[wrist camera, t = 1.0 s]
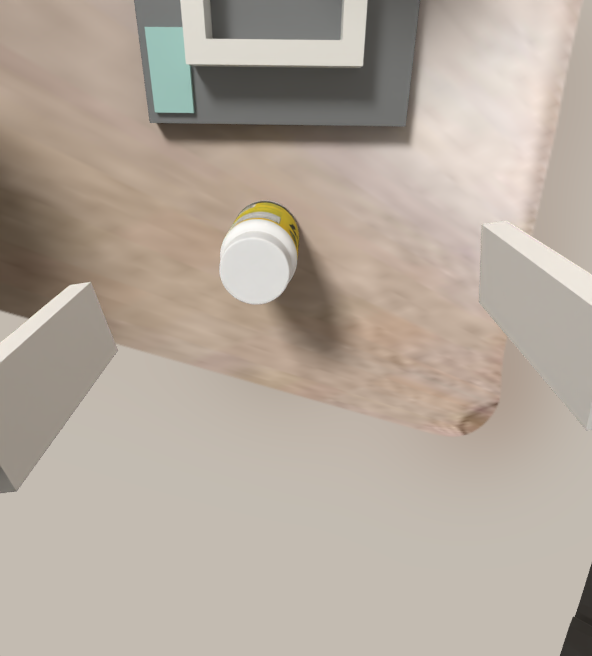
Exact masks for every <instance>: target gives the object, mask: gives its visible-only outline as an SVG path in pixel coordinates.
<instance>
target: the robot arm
mask: <svg viewBox="0 0 592 656" xmlns="http://www.w3.org/2000/svg"><path fill="white" fill-rule="evenodd" d="M479 303H480V304H481V305H482V307H483V308H484V309H485V310H486V311H487V313H488V314H489V315H490V316H491V317H492V319H493V320H494V321H495V322H496V323H497V325H498V326H499V327H500V328H501V329H502V330H503V332H504V333H505V334H506V335H507V336H508V338H509V339H510V340H511V341H512V342H513V344H514V345H515V346H516V347H517V348H518V350H519V351H520V352H521V353H522V354H523V356H525V358H526V359H527V360H528V362H529V363H530V364H531V365H532V366H533V368H534V369H535V370H536V371H537V372H538V373H539V374H540V376H541V377H542V378H543V379H544V381H545V382H546V383H547V384H548V385H549V387H550V388H551V389H552V390H553V391H554V393H555V394H556V395H557V396H558V397H559V399H560V400H561V401H562V402H563V403H564V404H565V406H566V407H567V408H568V409H569V411H570V412H571V413H572V414H573V415H574V416H575V417H576V419H577V420H578V421H579V422H580V424H581V425H582V426H583V427H584V428H585V430H592V274H590V273H589V272H587V271H585V270H584V269H582V268H581V267H579V266H578V265H576V264H574V263H573V262H571V261H570V260H568V259H566V258H565V257H563V256H562V255H560V254H558V253H557V252H555V251H554V250H552V249H551V248H549V247H547V246H546V245H544V244H543V243H541V242H540V241H538V240H536V239H535V238H533V237H532V236H530V235H528V234H527V233H525V232H524V231H522V230H521V229H519V228H517V227H516V226H514V225H513V224H511V223H509V222H508V221H500V222H494V223H487V224H482V229H481V257H480V285H479ZM117 351H118V349H117V346H116V344H115V341H114V339H113V336H112V334H111V331H110V329H109V326H108V324H107V321H106V319H105V316H104V314H103V311H102V309H101V306H100V304H99V301H98V299H97V296H96V294H95V291H94V289H93V286H92V284H91V282H87V283H80V284H73V285H69V286H68V287H67V288H66V289H64V290H63V291H62V292H61V293H59V294H58V295H57V296H56V297H55V298H53V299H52V300H51V301H50V302H49V303H47V304H46V305H45V306H44V307H43V308H41V309H40V310H39V311H38V312H36V313H35V314H34V315H33V316H32V317H30V318H29V319H28V320H27V321H26V322H24V323H23V324H22V325H21V326H19V327H18V328H17V329H16V330H15V331H13V332H12V333H11V334H10V335H9V336H8V337H6V338H5V339H4V340H3V341H1V342H0V493H5V492H14V491H17V490H18V489H19V487H20V486H21V484H22V483H23V482H24V480H25V479H26V477H27V476H28V475H29V473H30V472H31V471H32V469H33V468H34V466H35V465H36V464H37V462H38V461H39V459H40V458H41V457H42V455H43V454H44V453H45V451H46V449H47V448H48V447H49V446H50V444H51V443H52V441H53V440H54V439H55V437H56V436H57V434H58V433H59V432H60V430H61V429H62V428H63V426H64V425H65V423H66V422H67V421H68V419H69V418H70V416H71V415H72V414H73V412H74V411H75V409H76V408H77V407H78V405H79V404H80V402H81V401H82V400H83V398H84V397H85V396H86V394H87V393H88V391H89V390H90V388H91V387H92V386H93V384H94V383H95V382H96V380H97V379H98V377H99V376H100V375H101V373H102V371H103V370H104V369H105V368H106V366H107V365H108V363H109V362H110V361H111V359H112V358H113V357H114V355H115V354H116V352H117ZM560 656H592V564H591V567H590V571H589V574H588V577H587V580H586V584H585V587H584V590H583V593H582V596H581V600H580V603H579V606H578V609H577V612H576V615H575V617H573V618H572V621H571V624H570V626H569V629H568V632H567V635H566V638H565V642H564V644H563V648H562V651H561V654H560Z"/></svg>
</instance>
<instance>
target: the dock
mask: <svg viewBox="0 0 592 656" xmlns="http://www.w3.org/2000/svg"><path fill="white" fill-rule="evenodd" d="M134 3H135V11H136V19H137V26H138V34H139V42H140V50H141V58H142V66H143V74H144V81H145V89H146V97H147V105H148V113H149V121H150V123H200V124H270V125H340V126H406V118H407V110H408V101H409V92H410V83H411V75H412V66H413V57H414V48H415V40H416V31H417V22H418V13H419V5H420V0H134Z"/></svg>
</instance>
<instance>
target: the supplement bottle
mask: <svg viewBox="0 0 592 656" xmlns="http://www.w3.org/2000/svg"><path fill="white" fill-rule="evenodd" d="M298 247H299V229H298V224H297V222H296V219H295V217H294V216H293V214H292V213H291V212H290V211H289V210H288V209H287V208H286V207H284V206H283V205H281V204H279V203H276V202H273V201H258V202H255V203H252V204H250V205H248V206H247V207H245V208H244V209H243V210H242V211H241V212H240V214H239V215H238V217H237V218H236V220H235V221H234V223H233V225H232V226H231V228H230V230H229V231H228V233H227V235H226V236H225V238H224V240H223V243H222V246H221V251H220V260H221V261H220V268H219V270H220V277H221V281H222V283H223V285H224V287H225V288H226V290H227V291H228V292H229V293H230V294H231V295H232V296H233V297H235V298H236V299H238V300H240V301H242V302H245V303H248V304H265V303H268V302H271V301H273V300H275V299H276V298H277V297H279V296H280V295H281V294H282V293H283V292H284V290H285V289H286V287H287V285H288V283H289V282H290V280H291V279H292V277H293V275H294V273H295V270H296V267H297V261H298Z"/></svg>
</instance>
